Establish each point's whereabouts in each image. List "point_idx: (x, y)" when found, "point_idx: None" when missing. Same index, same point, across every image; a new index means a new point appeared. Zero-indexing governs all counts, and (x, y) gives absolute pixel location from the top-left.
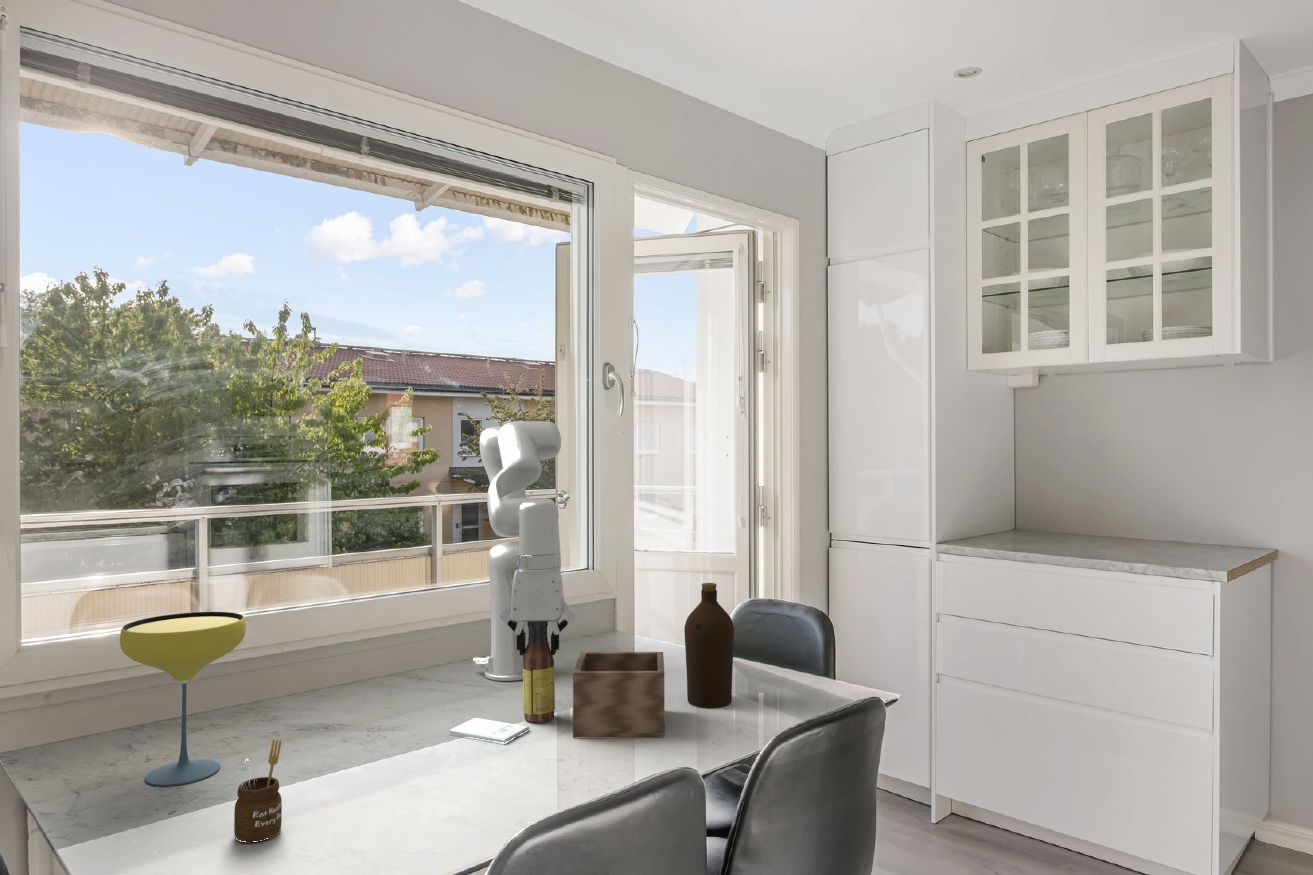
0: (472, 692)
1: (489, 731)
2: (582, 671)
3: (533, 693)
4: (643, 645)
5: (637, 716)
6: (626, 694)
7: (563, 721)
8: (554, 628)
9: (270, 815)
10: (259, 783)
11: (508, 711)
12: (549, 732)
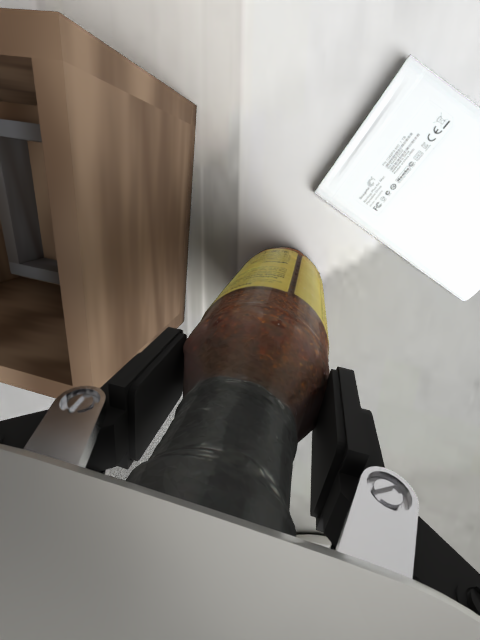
0: (424, 505)
1: (449, 152)
2: (18, 47)
3: (292, 265)
4: None
5: None
6: None
7: (222, 254)
8: (76, 422)
9: None
10: None
11: (354, 359)
12: (259, 167)
